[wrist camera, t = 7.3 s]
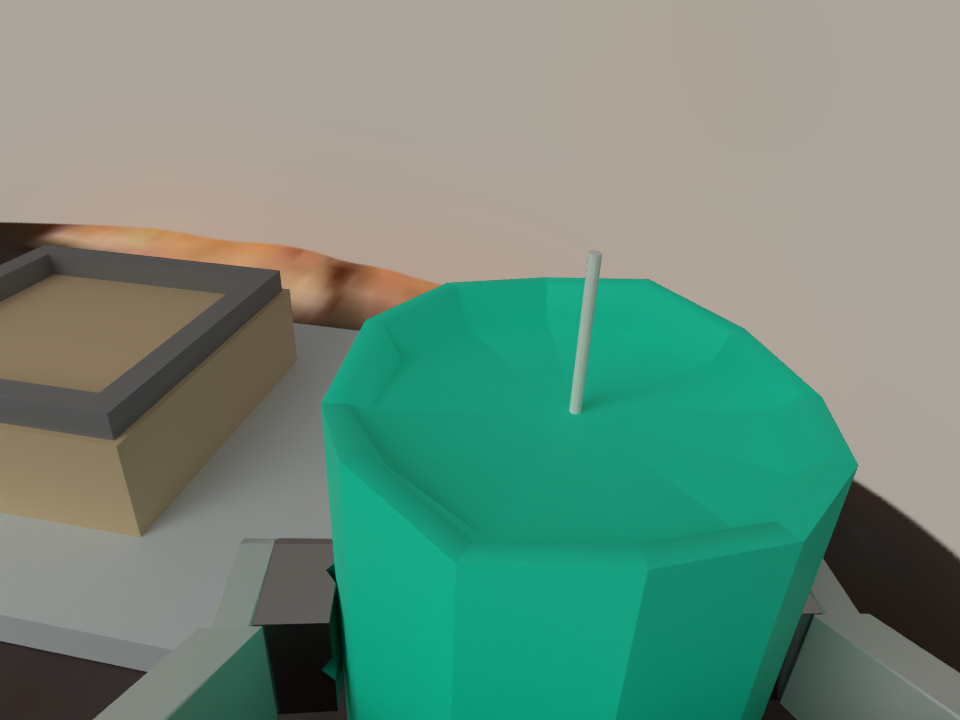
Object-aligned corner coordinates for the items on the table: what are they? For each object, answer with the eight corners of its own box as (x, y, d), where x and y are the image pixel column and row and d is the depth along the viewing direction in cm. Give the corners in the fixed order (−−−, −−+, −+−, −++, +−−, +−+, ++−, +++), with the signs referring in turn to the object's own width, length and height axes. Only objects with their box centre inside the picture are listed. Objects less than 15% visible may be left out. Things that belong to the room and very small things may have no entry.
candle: (455, 664, 17) (472, 157, 11) (710, 784, 15) (905, 226, 9) (289, 931, 12) (161, 289, 6) (627, 1170, 10) (935, 519, 4)
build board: (-450, 546, 19) (-574, 397, 17) (5, 306, 33) (-28, 206, 31) (310, 706, 16) (289, 548, 13) (463, 364, 29) (465, 256, 27)
